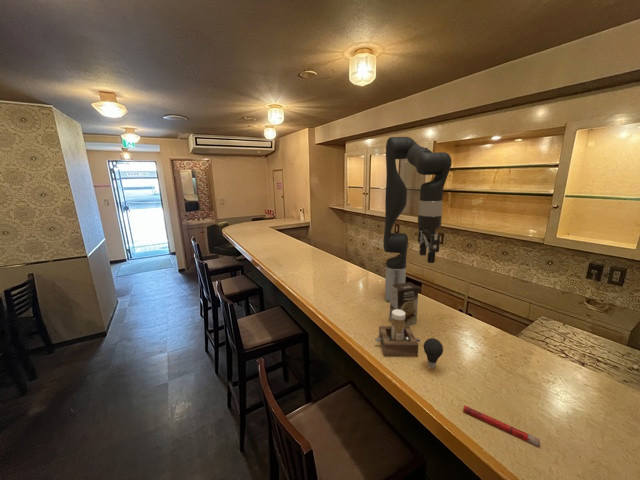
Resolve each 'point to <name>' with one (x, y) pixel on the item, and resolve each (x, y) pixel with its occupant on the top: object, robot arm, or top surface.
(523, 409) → the top surface
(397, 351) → the brown wooden square frame
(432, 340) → the light bulb
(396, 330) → the sprinkles bottle
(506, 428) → the flare
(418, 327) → the top surface
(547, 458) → the top surface
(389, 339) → the plunger
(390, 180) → the robot arm
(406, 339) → the plunger
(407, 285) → the coffee box
